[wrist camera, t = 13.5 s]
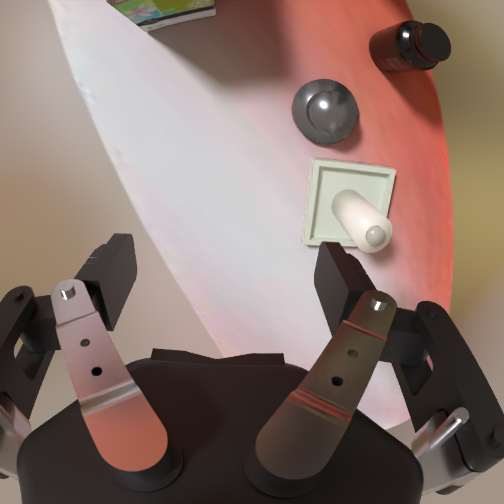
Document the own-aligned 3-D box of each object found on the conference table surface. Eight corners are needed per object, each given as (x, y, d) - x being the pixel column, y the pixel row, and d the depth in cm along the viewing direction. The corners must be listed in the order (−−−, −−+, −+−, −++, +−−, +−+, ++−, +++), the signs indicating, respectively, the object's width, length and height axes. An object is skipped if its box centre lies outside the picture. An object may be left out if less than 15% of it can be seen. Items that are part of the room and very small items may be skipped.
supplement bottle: (415, 64, 32) (466, 61, 22) (382, 80, 34) (430, 79, 23) (392, 24, 29) (440, 10, 19) (358, 39, 31) (401, 23, 20)
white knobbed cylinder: (333, 187, 41) (362, 216, 31) (365, 190, 41) (399, 219, 32) (328, 220, 43) (353, 256, 34) (359, 221, 43) (389, 256, 34)
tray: (310, 156, 39) (314, 159, 38) (389, 166, 40) (395, 169, 38) (300, 238, 45) (303, 244, 44) (374, 241, 46) (379, 247, 44)
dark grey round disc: (294, 75, 34) (300, 72, 30) (357, 85, 34) (369, 84, 31) (289, 139, 38) (295, 143, 34) (351, 146, 39) (362, 151, 35)
